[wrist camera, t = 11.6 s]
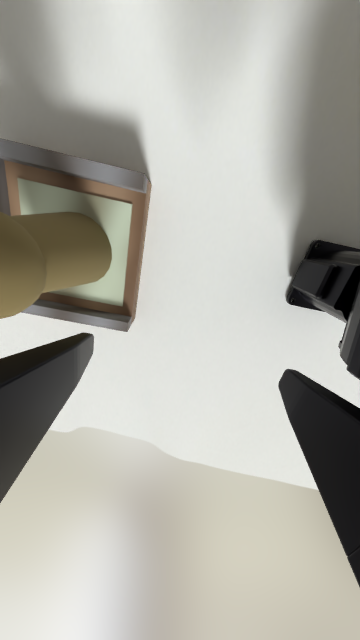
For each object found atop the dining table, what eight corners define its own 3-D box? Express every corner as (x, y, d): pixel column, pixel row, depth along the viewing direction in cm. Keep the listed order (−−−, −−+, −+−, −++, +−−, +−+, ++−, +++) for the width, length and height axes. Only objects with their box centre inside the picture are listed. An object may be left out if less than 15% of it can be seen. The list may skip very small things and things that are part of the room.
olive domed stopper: (83, 296, 19) (-28, 364, 9) (29, 246, 17) (-184, 260, 7) (126, 254, 18) (50, 280, 7) (71, 193, 16) (-127, 120, 6)
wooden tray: (151, 184, 17) (144, 173, 14) (134, 318, 22) (127, 331, 19) (9, 150, 16) (-32, 130, 13) (26, 297, 22) (-2, 308, 18)
